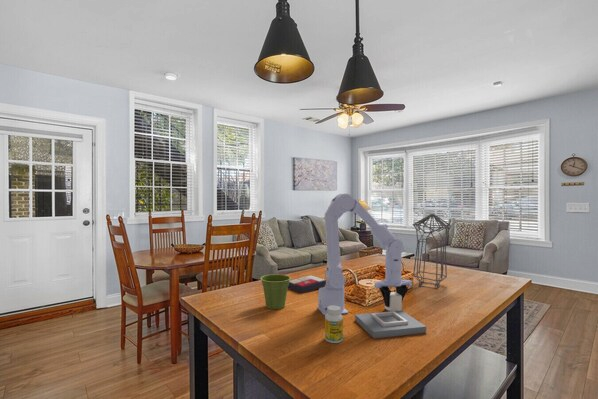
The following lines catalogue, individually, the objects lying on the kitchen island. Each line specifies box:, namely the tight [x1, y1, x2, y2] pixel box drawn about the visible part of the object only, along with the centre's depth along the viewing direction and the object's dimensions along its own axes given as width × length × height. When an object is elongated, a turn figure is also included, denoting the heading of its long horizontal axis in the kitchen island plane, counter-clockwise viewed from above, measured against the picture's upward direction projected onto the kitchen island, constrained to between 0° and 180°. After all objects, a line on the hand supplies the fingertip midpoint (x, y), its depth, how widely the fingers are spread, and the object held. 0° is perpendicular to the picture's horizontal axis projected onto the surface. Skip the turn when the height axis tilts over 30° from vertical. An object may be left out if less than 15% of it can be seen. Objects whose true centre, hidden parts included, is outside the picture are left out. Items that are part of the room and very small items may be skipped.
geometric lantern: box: [412, 213, 452, 290], centre depth 148 cm, size 16×16×35 cm
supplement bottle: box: [324, 305, 344, 344], centre depth 92 cm, size 5×5×10 cm
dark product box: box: [288, 275, 327, 294], centre depth 144 cm, size 11×4×15 cm
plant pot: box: [259, 273, 292, 311], centre depth 119 cm, size 12×12×11 cm
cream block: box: [384, 291, 403, 312], centre depth 116 cm, size 4×4×6 cm
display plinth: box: [354, 309, 427, 339], centre depth 101 cm, size 18×14×3 cm
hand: (393, 305), depth 116 cm, fingers closed on cream block, 4 cm apart
